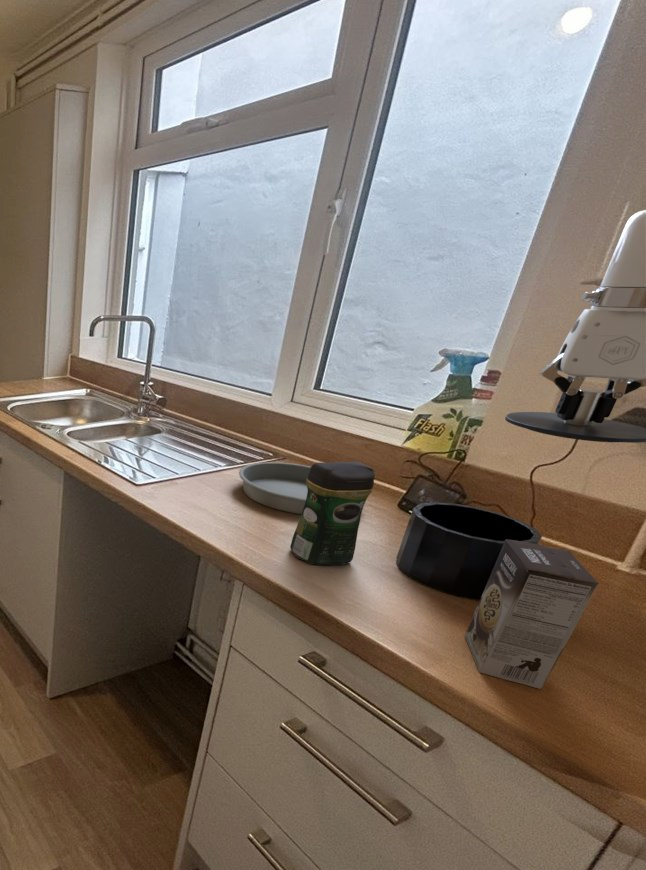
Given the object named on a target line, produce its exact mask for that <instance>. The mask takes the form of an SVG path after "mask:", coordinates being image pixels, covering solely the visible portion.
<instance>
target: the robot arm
mask: <svg viewBox="0 0 646 870" xmlns="http://www.w3.org/2000/svg"><path fill="white" fill-rule="evenodd" d="M581 301H582V302H588V303H590V306H591V307H590V308H584V310H583V311H581V312H582V313H581V314H580V315H579V317H578V318H577V319H576V321H575V322H574V324H573V326H572V327H571V329H570V331H569V332H568V334H567V336H566V337H565V340H564V341H563V343H562V345H561V346H560V349H559V351H558V354H557V356H556V357H555V359H553V360H552V361H551V362H550V363H549V364H548V365H546V366H545V367H543V368H542V370H540V371H539V375H540V376H541V377H542V378H543V377H544V378H545V379H547V380H549V381H550V382H553V383H554V385H555V386H556V387H557V388H558V390H559V391H560V392H561V395H560V397H559V401H558V402H557V405H556V407H555V411H554V413H558V414H557V417H559V418H561V419H562V420H570V419H571V417H572V414H573V412H574V410H575V408H576V405H577V403H578V401H579V398H580V397H579V396H577V394H578V390H579V389H581V387H582V385H583V383H584V382H585V380H586V378H596V379H597V378H599V379H608V380H607V383H606V386H605V389H604V392H605V394H604V397H603V399H602V401H601V403H600V406H599V408H598V410H597V412H596V414H595V417H594V419H593V421H594V422H596V423H602V422H603V420H604V419H606V418H609V417H610V416H611V414H612V411H613V409H614V407H615V405H616V402H617V400H619V399H621V398H623V397H624V396H625V395H627V394H630V393H632V392H633V391H636V390H638V389H640V388H645V387H646V209H643V210H639V211H637V212H635V213H634V214H633V215H631V216H630V217H629V218H628V220H627V221H626V223H625V225H624V228H623V230H622V232H621V234H620V237H619V239H618V242H617V244H616V247H615V249H614V252H613V254H612V256H611V258H610V261H609V264H608V266H607V268H606V271H605V273H604V276H603V278H602V281H601V283H600V285H599V287H596V289H595V290H592V291H585V292H584V293H583V295H582V297H581ZM558 372H562V373H564V374H566V375H567V376H566V377H565V376H563V375H561V374H559V373H558Z"/></svg>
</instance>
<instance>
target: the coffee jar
mask: <svg viewBox="0 0 646 870" xmlns="http://www.w3.org/2000/svg"><path fill="white" fill-rule="evenodd" d="M310 467H311V468H310V472H309V474H308V477H307V480H306V484H307V488H308V492H307V498H306V502H305V505H304V508H303V511H302V514H300V516H299V520H298V523H297V525H296V528H295V530H294V533H293V535H292V538H291V543H290V546H289V547H290V550H291V552H292V553H293V555H294V556H295V557H297V558H298V559H300V560H302V561H304V562H307V563H309V564H311V565H316V566H338V565H347V564H349V563H351V562H352V561H353V559H354V555H355V551H356V545H357V539H358V533H359V528H360V523H361V517H362V513H363V509H364V506H365V503H366V502H367V499H368V498H369V496H370V495H371V494H372V492H373V490H374V485H375V479H376V477H375V476H376V475H375V470H374V468H373V467H370V466H369V465H367V464H364V463H362V462H360V461H345V462H344V461H342V462H341V461H340V462H339V461H338V462H314V463H313V464H312V465H311V466H310Z"/></svg>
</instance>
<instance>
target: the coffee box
mask: <svg viewBox="0 0 646 870" xmlns="http://www.w3.org/2000/svg"><path fill="white" fill-rule="evenodd" d="M599 584H600V583H599V582H598V581H597V580H596V579H595V577H593V575H592V574H591V573H590V572H589V571H588V570H587V569H586V568H585V566H583V564H582V563H581V562H580V561H579V560H578V558H576V557H575V556H574V554H572V552H571V551H570V550H568V549H561V548H555V547H549V546H546V545H542V544H533V543H527V542H521V541H515V540H508V539H506V540H505V542H504V544H503V547H502V549H501V552H500V554H499V556H498V559H497V561H496V563H495V566H494V568H493V570H492V573H491V575H490V578H489V580H488V582H487V585H486V587H485V590H484V592H483V594H482V597H481V599H480V600H478V601H479V602H478V604H477V606H476V609H475V610H474V613H473V616H472V617H471V620H470V623H469V625H468V627H467V630H466V632H465V634H464V638H465V640H466V642H467V645H468V647H469V650H470V652H471V654H472V657H473V659H474V662H475V664H476V666H477V669H478V672H479V673H481V674H483V675H488V676H491V677H493V678H494V677H495V678H499V679H502V680H506V681H508V682H509V681H510V682H513V683H517V684H520V685H524V686H528V687H531V688H535V689H539V690H541V689H543V687H544V685H545V684H546V681H547V680H548V678H549V676H550V674H551V672H552V671H553V669H554V667H555V666H556V663H557V661H558V659H559V657H560V656H561V655H562V652H563V650H564V648H565V647H566V645H567V643H568V641H569V640H570V637H571V636H572V634H573V632H574V630H575V629H576V626H577V625H578V623H579V621H580V619H581V618H582V615H583V614H584V612H585V610H586V608H587V607H588V604H589V602H590V601H591V600H592V599H591V598H593V595H594V593H595V591H596V590H597V588H598V586H599Z"/></svg>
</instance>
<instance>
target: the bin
mask: <svg viewBox="0 0 646 870" xmlns="http://www.w3.org/2000/svg"><path fill="white" fill-rule="evenodd" d="M542 538H543V535H542V534H541V533H540V532H539V531H538V530H537V529H536V528H535V527H533V526H532V525H529V524H527V523H525V522H524V521H522V520H520V519H517V518H514V517H511V516H509V515H506V514H503V513H501V512H498V511H493V510H488V509H485V508H481V507H477V506H472V505H466V504H459V503H453V502H451V503H450V502H434V501H433V502H425V503H418V504H417V505H416V506H415V507H413V508H412V511H411V514H410V517H409V520H408V523H407V526H406V527H405V530H404V534H403V536H402V539H401V543H400V546H399V549H398V552H397V554H396V566H397V567H398V569H399V570H400V571H401V572H402V573H403V574H404V575H406V576H407V577H409V578H410V579H412V580H414V581H416V582H417V583H419V584H421V585H423V586H425V587H428V588H430V589H433V590H436V591H438V592H440V593H444V594H448V595H451V596H455V597H458V598H463V599H468V600H472V601H480V599H481V597H482V594H483V592H484V590H485V587H486V585H487V582H488V580H489V578H490V575H491V573H492V570H493V568H494V566H495V563H496V561H497V559H498V556H499V554H500V552H501V549H502V547H503V544H504V542H505V540H506V539H508V540H515V541H521V542H527V543H533V544H538V545H540V543H541V540H542Z"/></svg>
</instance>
